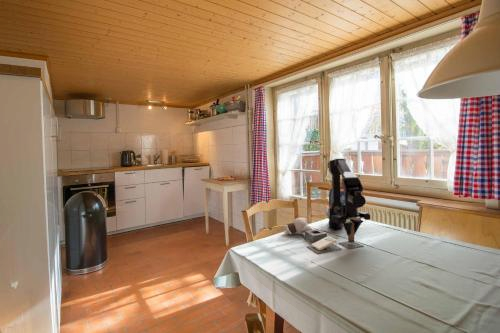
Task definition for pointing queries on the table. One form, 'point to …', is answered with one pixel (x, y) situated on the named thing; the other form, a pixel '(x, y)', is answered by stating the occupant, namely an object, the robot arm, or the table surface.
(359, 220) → the robot arm
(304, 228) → the toy
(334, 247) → the rocker housing
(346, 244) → the pad
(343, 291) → the table surface
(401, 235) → the table surface
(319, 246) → the rocker
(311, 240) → the grey square block
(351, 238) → the stylus
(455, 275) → the table surface
